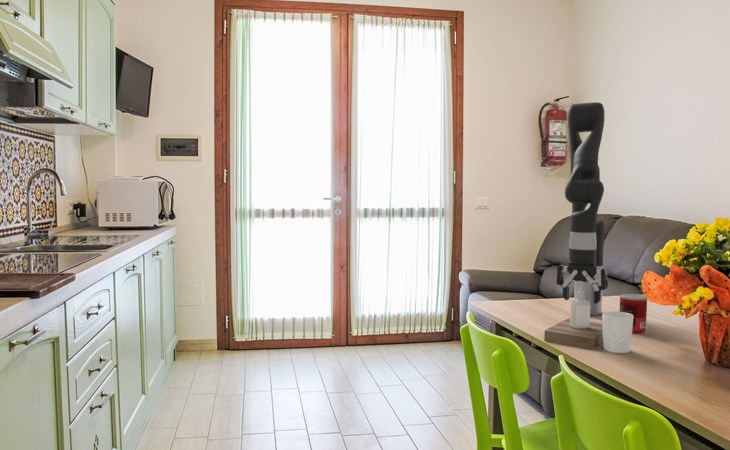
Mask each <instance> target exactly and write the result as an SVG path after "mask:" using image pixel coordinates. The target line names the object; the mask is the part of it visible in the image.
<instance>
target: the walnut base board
mask: <svg viewBox="0 0 730 450" xmlns="http://www.w3.org/2000/svg"><path fill="white" fill-rule="evenodd" d="M570 319H571V317H570V318H569V317H568V318H566V319H564V320H561V321H560V322H558V323H556V324H554V325H553V326H551V327H549V328H546V329H545V330H544V333H543V334H544V337H543V341H545V342H550V343H551V342H552V343H556V344H563V345H568V346H574V347H580V348H584V349H592V350H594V349H597V347H598V346H600V345H603V333H602V322H598V321H591V320H590V326H589V328H585V329H575V328H572V327H571V326H570Z"/></svg>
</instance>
